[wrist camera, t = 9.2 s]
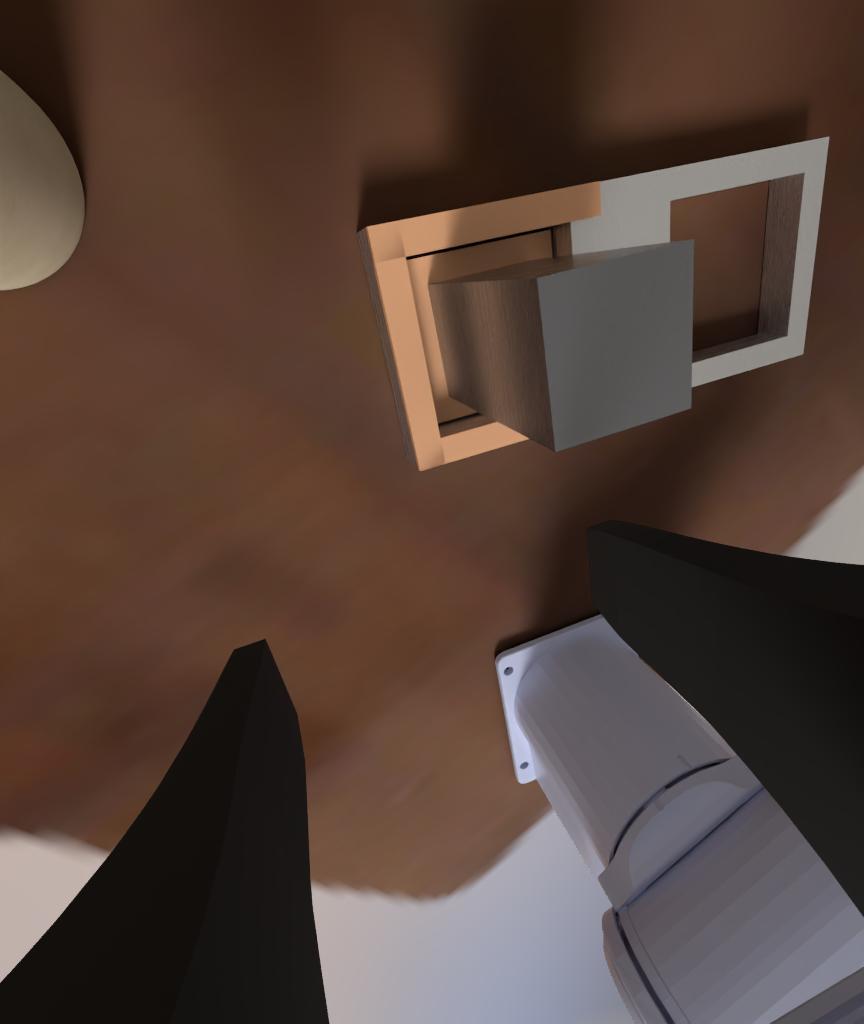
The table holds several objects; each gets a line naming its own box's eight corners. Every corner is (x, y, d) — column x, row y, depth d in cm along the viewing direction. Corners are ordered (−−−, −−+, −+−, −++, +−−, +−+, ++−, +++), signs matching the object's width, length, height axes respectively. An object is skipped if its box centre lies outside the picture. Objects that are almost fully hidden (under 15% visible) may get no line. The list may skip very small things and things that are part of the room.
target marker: (584, 406, 22) (609, 414, 21) (407, 457, 21) (419, 471, 19) (570, 190, 19) (600, 180, 17) (356, 233, 17) (367, 226, 16)
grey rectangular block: (542, 369, 21) (691, 408, 14) (448, 396, 20) (555, 452, 13) (530, 259, 19) (694, 239, 12) (427, 284, 18) (537, 278, 11)
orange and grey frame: (773, 351, 24) (803, 354, 23) (407, 457, 21) (417, 468, 19) (792, 146, 21) (829, 136, 19) (356, 233, 17) (365, 228, 16)
